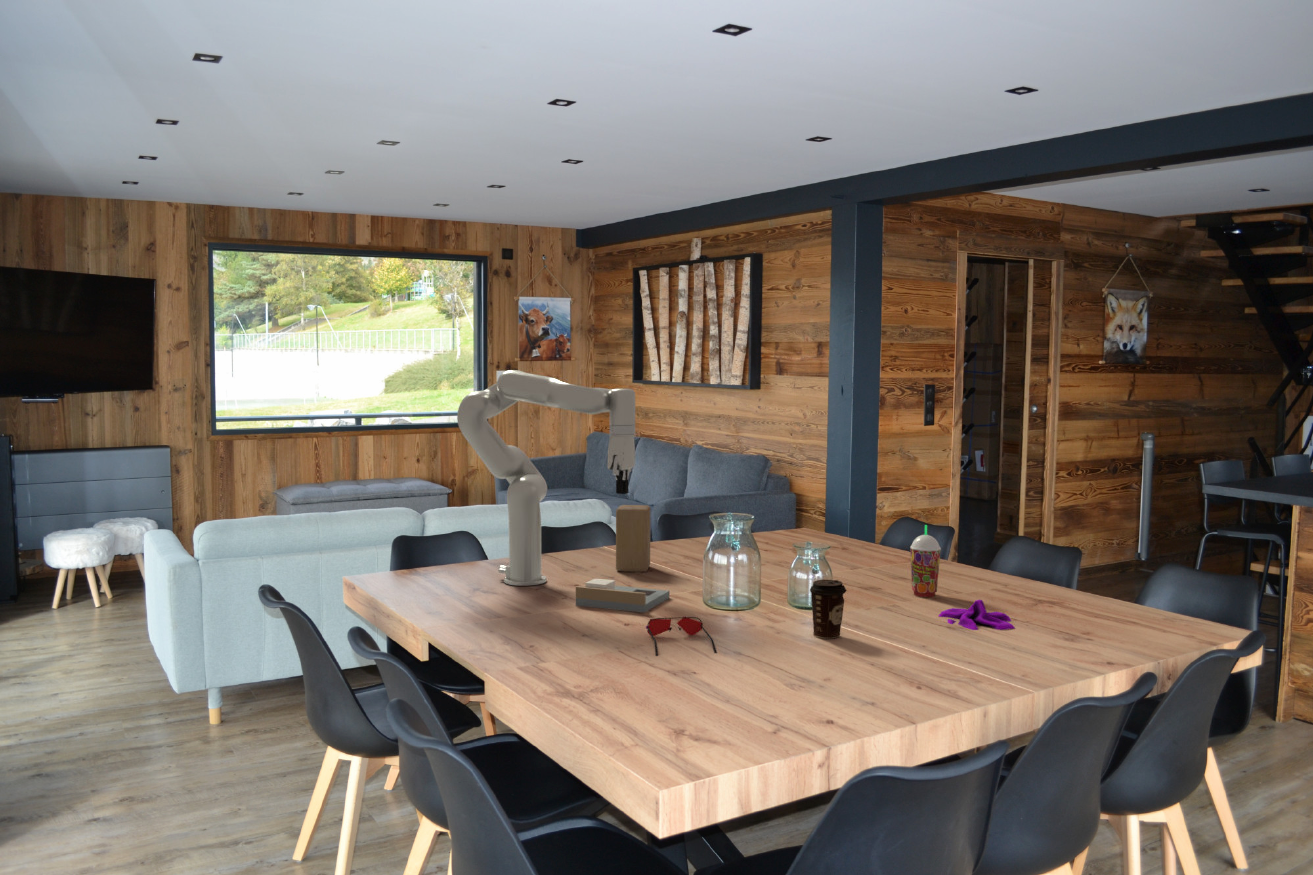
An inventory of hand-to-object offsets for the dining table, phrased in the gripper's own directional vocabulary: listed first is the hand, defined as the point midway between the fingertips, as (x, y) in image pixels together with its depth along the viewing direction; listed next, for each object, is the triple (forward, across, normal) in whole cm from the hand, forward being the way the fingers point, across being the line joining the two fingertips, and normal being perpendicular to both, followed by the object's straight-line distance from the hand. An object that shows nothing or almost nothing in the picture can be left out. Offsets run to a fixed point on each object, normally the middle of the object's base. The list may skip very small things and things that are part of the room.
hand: (622, 493), depth 288 cm
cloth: (+28, +3, +100) cm, 104 cm away
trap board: (+27, +19, +9) cm, 34 cm away
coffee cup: (+27, +31, +68) cm, 80 cm away
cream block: (+25, +24, +4) cm, 35 cm away
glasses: (+28, +52, +38) cm, 70 cm away
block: (+27, -22, -6) cm, 36 cm away
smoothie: (+27, -22, +84) cm, 91 cm away
